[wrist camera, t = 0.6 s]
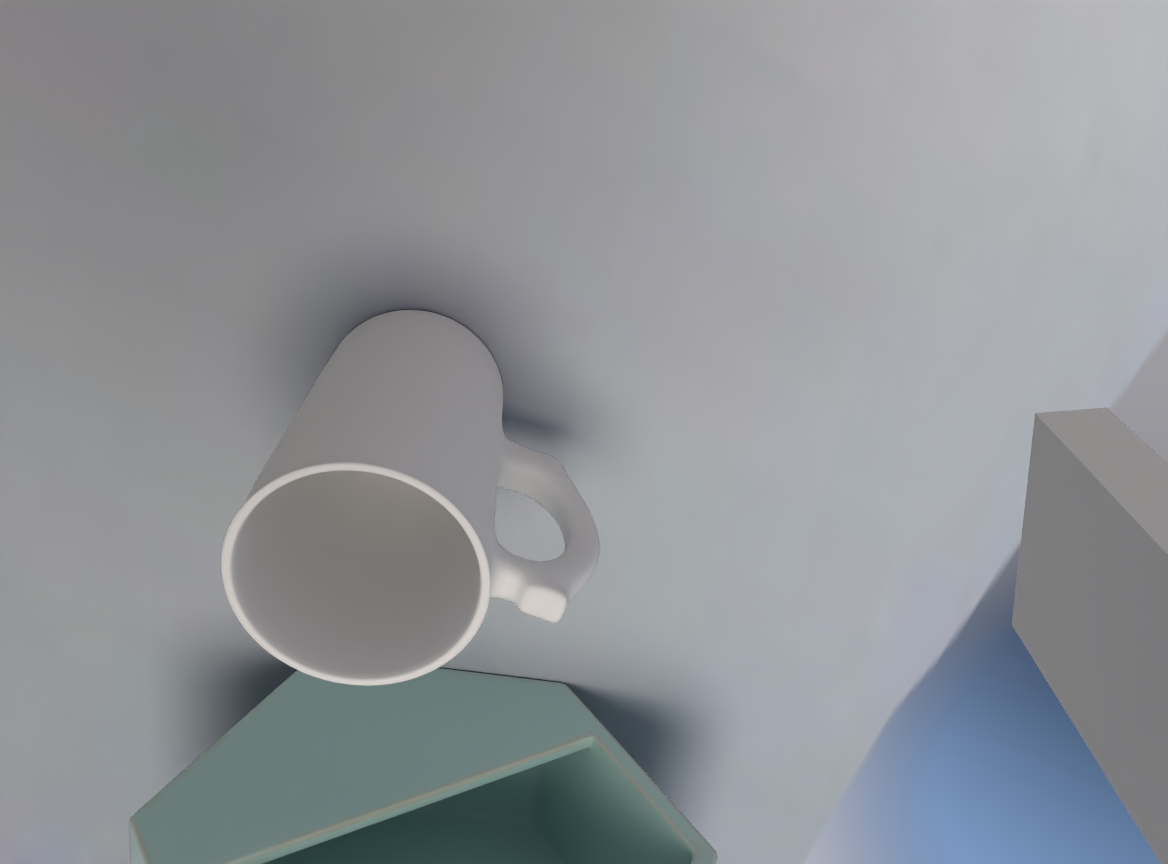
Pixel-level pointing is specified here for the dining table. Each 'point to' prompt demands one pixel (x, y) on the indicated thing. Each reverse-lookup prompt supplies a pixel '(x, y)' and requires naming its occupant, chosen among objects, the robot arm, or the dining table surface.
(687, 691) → the dining table surface
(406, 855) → the planter
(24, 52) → the dining table surface
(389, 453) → the mug
